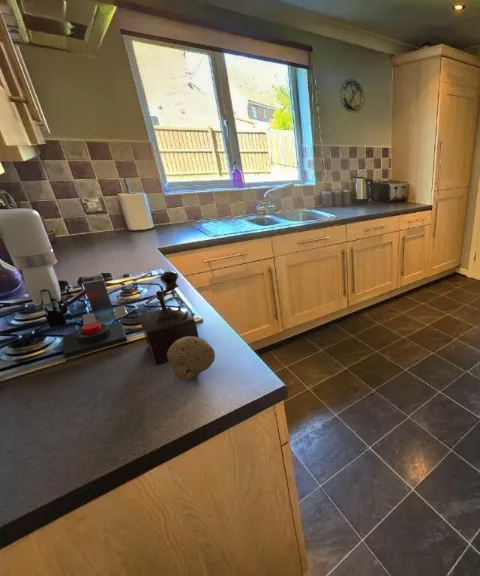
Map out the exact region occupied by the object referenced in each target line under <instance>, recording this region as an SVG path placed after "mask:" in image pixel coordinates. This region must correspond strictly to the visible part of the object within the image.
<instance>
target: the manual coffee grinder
mask: <svg viewBox="0 0 480 576" xmlns="http://www.w3.org/2000/svg"><path fill="white" fill-rule="evenodd" d="M160 279H161V281H162V282H164V283H165V284H166V285H165V289H164V290H157V291H156V292H155V296H156V299H157V300H158V301H159V305H160V307H161V308H160V309H158V310H157V311H153V312H149V313H145V314H142V315H139V316H138V318H139V323H140V325H141V329H142V331H143V334H144V338H145V341H146V344H147V347H148V350H149V353H150V356H151V357H152V359H153V361H154V363H155V365H156V366H159V365H163V364H166V363H169V361H168V358H167V352H168V349H169V348H170V346H171V345H172V344H173V343H174V342H175V341H177V340H178V339H181V338H183V337H187V336H192V337H198V338H200V336H199V332H198V327H197V323H196V320H195V318H194V316H193V315H192V314H191V312H190V311H189V309H188V308H187V306H186V305H185V304H180V305H176V306H172V307H171V306H166V303H165V299H166V298H165V294H167V293H168V292H170V291H174V290H176V289H177V288H179V285H178V283H177V281H178V279H179V274H178V273H177V271H172V270H169V271H164V272H162V274H161V275H160Z"/></svg>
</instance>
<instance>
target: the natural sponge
mask: <svg viewBox="0 0 480 576" xmlns="http://www.w3.org/2000/svg"><path fill="white" fill-rule="evenodd" d="M215 357H216V351H215V349H214V348H213V347H212V346H211V345H210V344H209V343H208V342H207V341H206V340H205V339H202V338H201V337H199V338H198V337H192V336H187V337H183V338H181V339H178V340H177V341H175V342H174V343H173V344H172V345H171V346H170V348H169V349H168V352H167V358H168V361H169V362H168V363H169V366H170V368H171V370H172V373H173V375H174V376H175V378H176V379H178V380H181V381H187V380H189V379H194V378H196V377H197V376H199V375H200V374H201V373H202V372H205V371H206V370H208V369H209V368H211V366H212V365H213V364H214V362H215Z"/></svg>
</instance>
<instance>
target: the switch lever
mask: <svg viewBox="0 0 480 576" xmlns="http://www.w3.org/2000/svg"><path fill="white" fill-rule="evenodd" d="M94 280H98V279H97V278H94V279H92V280H91V281H94ZM85 295H87V294H86V291H85V288H84V289H82V290H81V291H80V292H78V293H77V294H75V295H73V296H72V297H70V298H69V299H68V300H66V301H64V302H63V303H64V304H58V305H59V309H60V311H62V313H63V315H66V314H67V313H68V310H69V307H70V306H71V305H72V304H74V303H75V302H77V301H78V300H80V299H81V298H82V297H84V296H85ZM54 306H55V305H54ZM55 308H56V307H55Z"/></svg>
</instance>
